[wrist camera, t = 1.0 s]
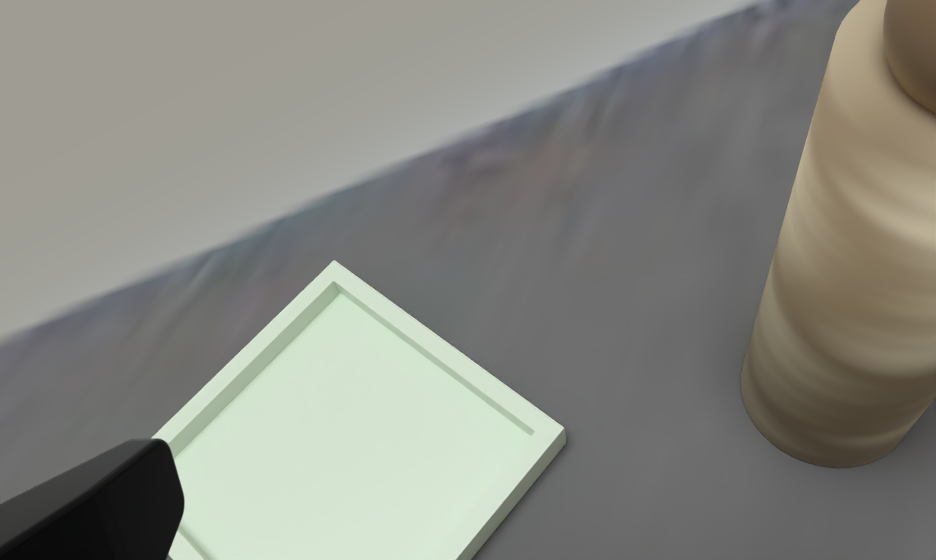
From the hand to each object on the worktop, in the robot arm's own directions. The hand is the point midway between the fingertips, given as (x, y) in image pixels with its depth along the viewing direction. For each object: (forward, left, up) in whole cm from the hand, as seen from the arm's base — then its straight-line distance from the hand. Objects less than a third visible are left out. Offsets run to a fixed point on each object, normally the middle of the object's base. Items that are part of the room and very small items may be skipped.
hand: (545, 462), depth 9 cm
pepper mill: (-1, -10, -15) cm, 18 cm away
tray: (+9, +1, -15) cm, 17 cm away
